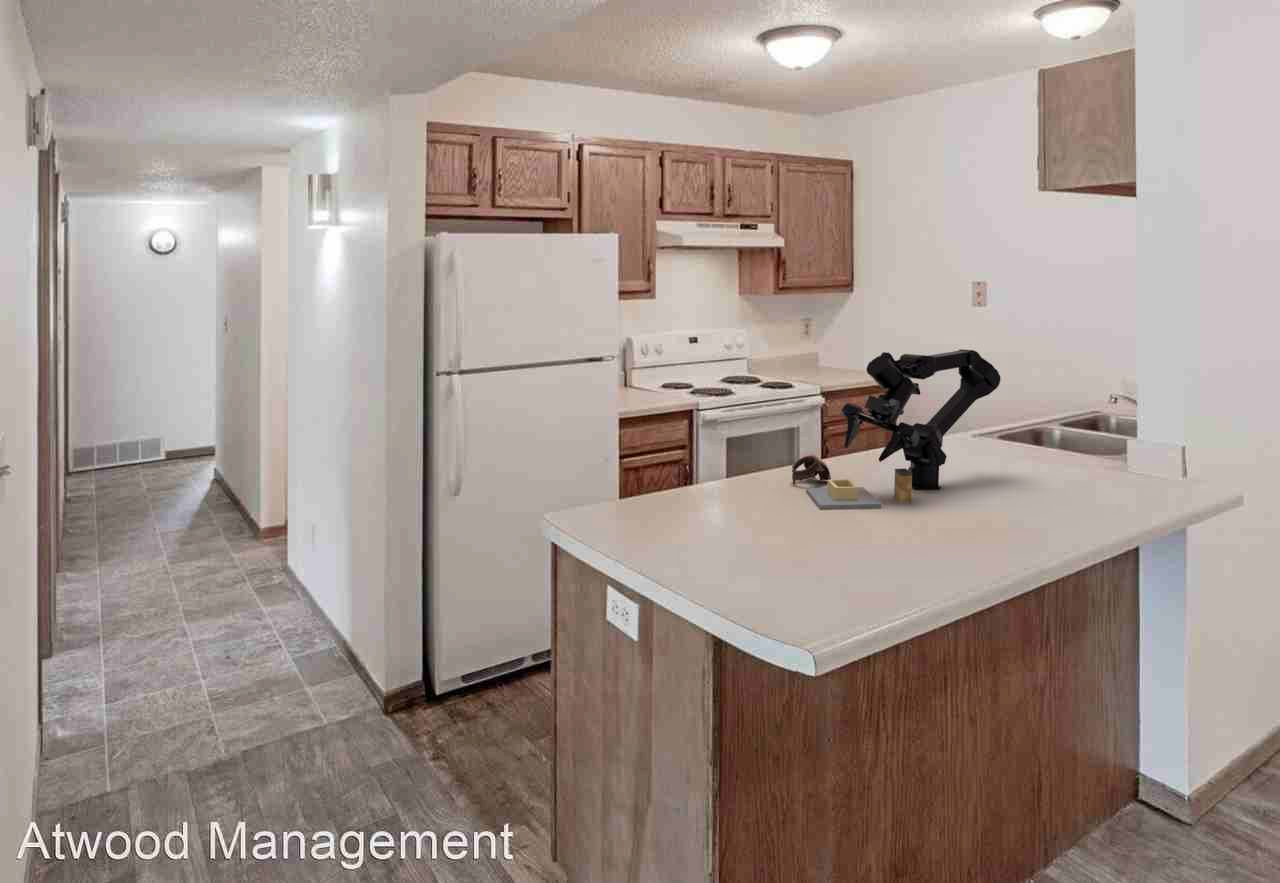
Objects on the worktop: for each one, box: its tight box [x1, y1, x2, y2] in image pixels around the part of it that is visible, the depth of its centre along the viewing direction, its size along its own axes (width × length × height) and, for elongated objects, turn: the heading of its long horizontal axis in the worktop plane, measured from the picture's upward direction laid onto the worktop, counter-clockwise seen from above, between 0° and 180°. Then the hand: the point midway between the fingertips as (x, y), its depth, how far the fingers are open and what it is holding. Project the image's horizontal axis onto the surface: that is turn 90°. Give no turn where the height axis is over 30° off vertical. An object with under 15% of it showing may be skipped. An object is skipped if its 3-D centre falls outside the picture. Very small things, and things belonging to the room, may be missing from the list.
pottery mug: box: [791, 454, 832, 484], centre depth 223 cm, size 12×10×8 cm
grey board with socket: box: [805, 478, 882, 510], centre depth 205 cm, size 14×16×4 cm
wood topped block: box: [893, 468, 913, 503], centre depth 204 cm, size 2×5×7 cm, turn 0°
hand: (862, 453), depth 204 cm, fingers open, 9 cm apart
